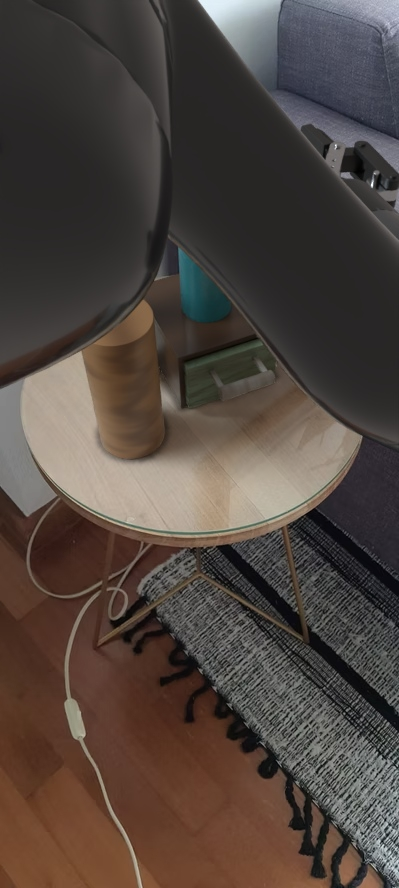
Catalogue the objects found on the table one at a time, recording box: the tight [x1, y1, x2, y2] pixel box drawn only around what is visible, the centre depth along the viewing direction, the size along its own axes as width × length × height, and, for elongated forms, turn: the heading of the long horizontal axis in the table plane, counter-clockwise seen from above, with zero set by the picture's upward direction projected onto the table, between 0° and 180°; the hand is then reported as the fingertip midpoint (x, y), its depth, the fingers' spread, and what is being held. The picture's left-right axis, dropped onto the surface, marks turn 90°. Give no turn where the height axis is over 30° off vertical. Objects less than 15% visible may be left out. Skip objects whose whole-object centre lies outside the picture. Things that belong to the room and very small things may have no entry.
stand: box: [80, 300, 166, 460], centre depth 74 cm, size 8×8×18 cm
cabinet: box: [143, 273, 258, 409], centre depth 85 cm, size 14×13×9 cm
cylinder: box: [177, 246, 232, 323], centre depth 77 cm, size 6×6×12 cm
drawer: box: [184, 338, 277, 409], centre depth 83 cm, size 17×11×7 cm
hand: (256, 147), depth 55 cm, fingers open, 8 cm apart
